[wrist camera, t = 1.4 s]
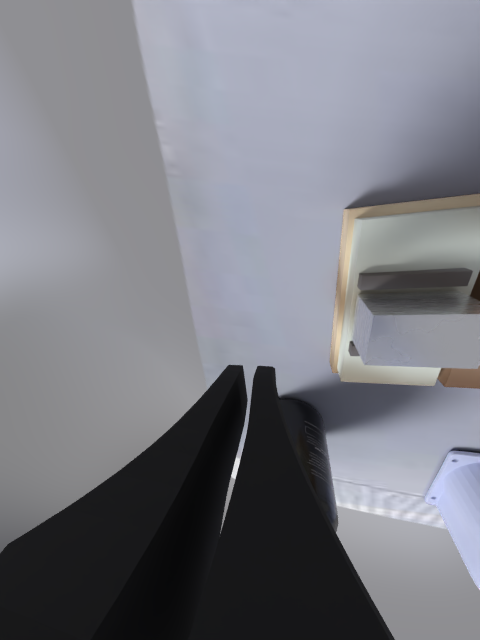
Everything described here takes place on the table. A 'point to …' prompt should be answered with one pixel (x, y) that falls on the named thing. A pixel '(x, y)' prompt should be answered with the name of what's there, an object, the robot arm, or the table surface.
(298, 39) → the table surface
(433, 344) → the bolt
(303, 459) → the supplement bottle
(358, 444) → the table surface
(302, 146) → the table surface
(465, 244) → the lock board
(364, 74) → the table surface
